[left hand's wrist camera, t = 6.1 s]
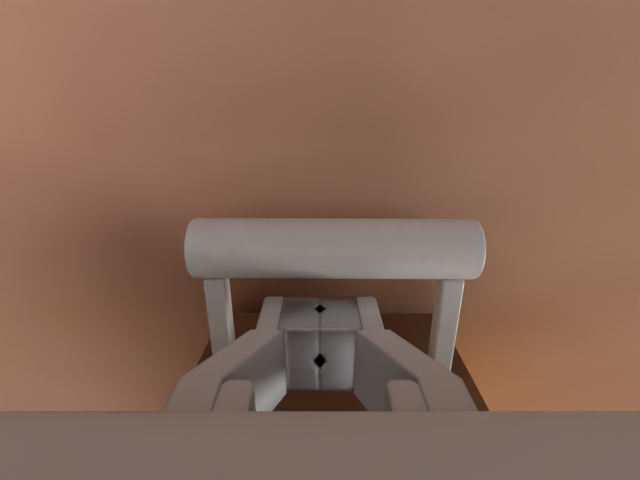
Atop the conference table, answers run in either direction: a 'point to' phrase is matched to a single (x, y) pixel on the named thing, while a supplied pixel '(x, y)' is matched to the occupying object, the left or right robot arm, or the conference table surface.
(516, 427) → the left robot arm
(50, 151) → the conference table surface
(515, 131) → the conference table surface
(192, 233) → the drawer
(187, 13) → the conference table surface
